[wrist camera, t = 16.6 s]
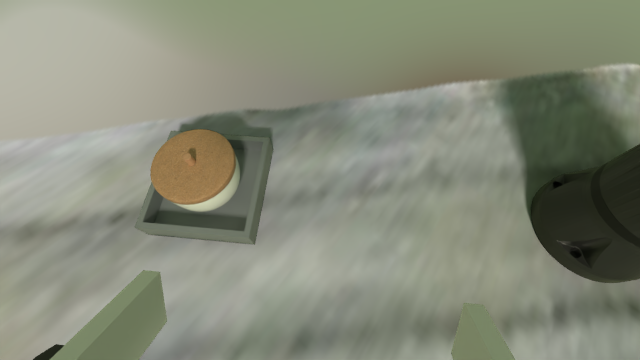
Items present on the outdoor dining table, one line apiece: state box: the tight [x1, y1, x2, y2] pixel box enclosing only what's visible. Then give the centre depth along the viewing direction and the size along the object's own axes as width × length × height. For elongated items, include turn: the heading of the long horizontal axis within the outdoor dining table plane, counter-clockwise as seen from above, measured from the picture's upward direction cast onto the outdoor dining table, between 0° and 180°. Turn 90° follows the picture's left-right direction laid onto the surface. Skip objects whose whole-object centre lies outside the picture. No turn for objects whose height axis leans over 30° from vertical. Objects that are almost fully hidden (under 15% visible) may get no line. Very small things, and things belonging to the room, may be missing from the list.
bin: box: [135, 131, 273, 244], centre depth 45 cm, size 16×16×4 cm
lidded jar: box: [151, 129, 240, 212], centre depth 42 cm, size 11×11×9 cm
